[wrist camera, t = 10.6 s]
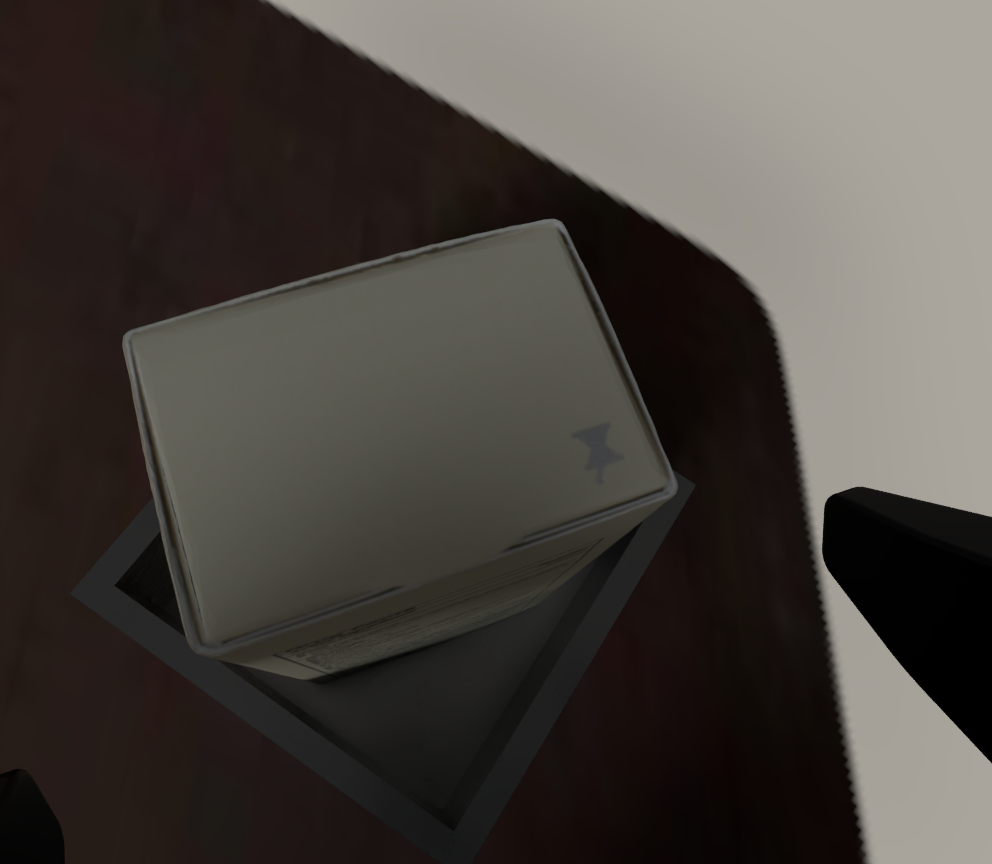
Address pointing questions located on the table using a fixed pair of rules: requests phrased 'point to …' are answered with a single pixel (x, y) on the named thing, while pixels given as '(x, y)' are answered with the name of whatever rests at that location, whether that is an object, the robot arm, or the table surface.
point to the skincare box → (391, 451)
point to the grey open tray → (403, 687)
